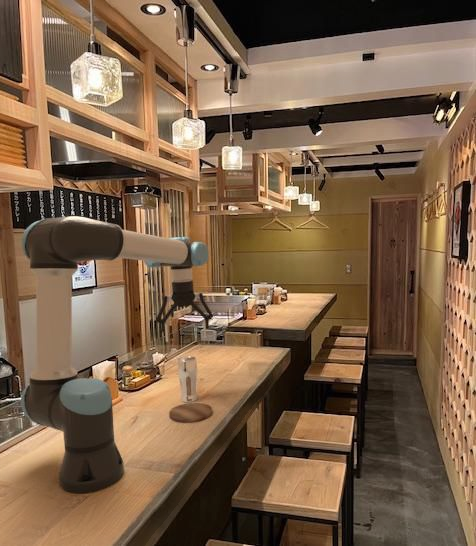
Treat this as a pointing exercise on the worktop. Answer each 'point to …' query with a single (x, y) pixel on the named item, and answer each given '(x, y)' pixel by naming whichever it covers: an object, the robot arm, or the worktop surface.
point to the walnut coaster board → (190, 412)
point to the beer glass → (188, 378)
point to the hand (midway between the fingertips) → (186, 339)
